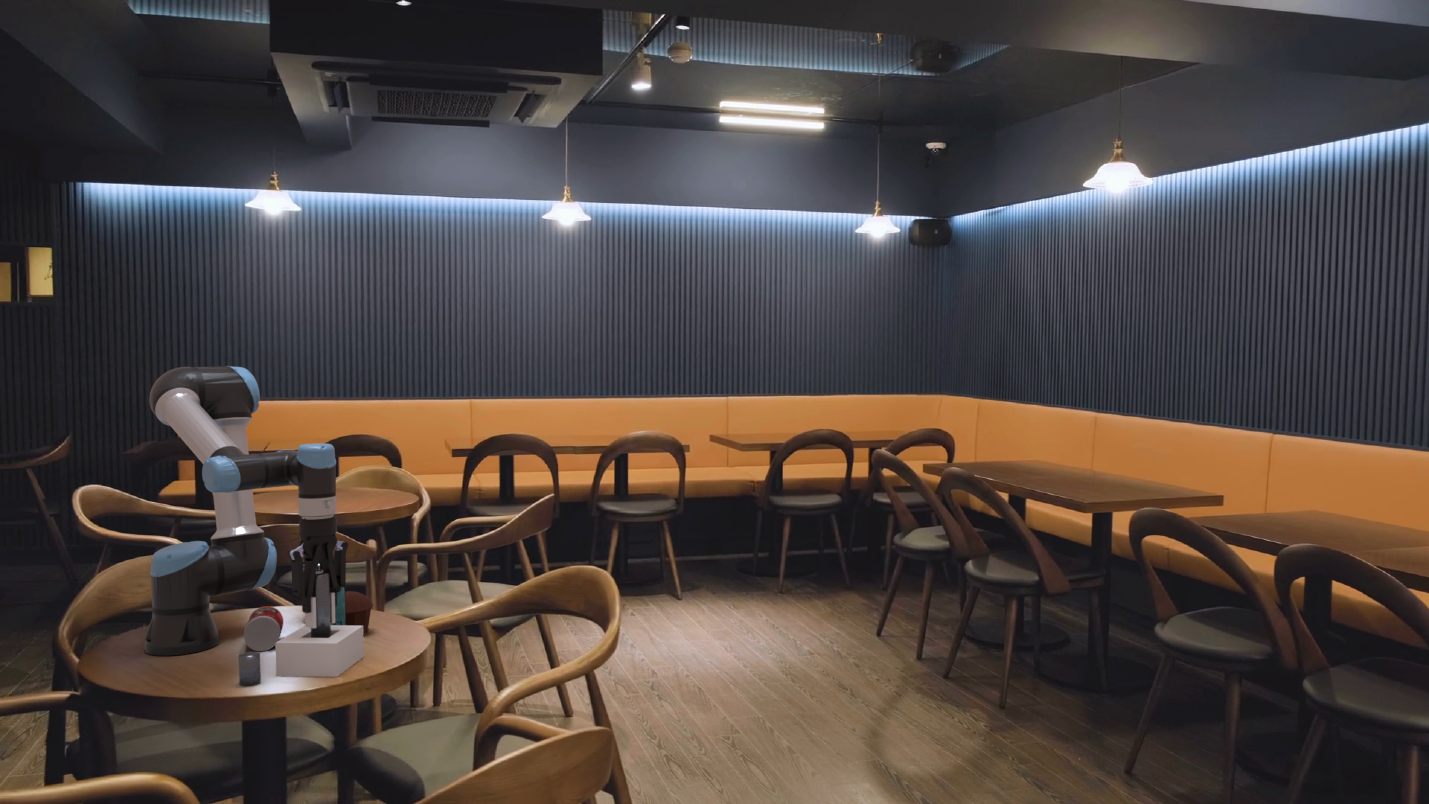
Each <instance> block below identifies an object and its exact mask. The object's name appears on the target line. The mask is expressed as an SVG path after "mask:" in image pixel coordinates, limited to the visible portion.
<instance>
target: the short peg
mask: <svg viewBox="0 0 1429 804" xmlns="http://www.w3.org/2000/svg"><path fill="white" fill-rule="evenodd" d="M261 679H262V677H261V652H260V651H248V652H242V653H240V654H238V685H240V687H242V688H243V687H244V688H248V687H254V686H258V685H260V684H261V682H262V680H261Z"/></svg>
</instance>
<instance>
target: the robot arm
mask: <svg viewBox="0 0 1429 804" xmlns="http://www.w3.org/2000/svg"><path fill="white" fill-rule="evenodd" d="M150 389H151V390H150V393H149V405H150V409H151V411H152V413H153V414H154V415H155V417H156V418H157V420H159V422H161V423H162V424H163V425H166V426H168V427H169V426H170V427H171V428H172V429H173V430H174V432H175V433H176V434H177V435H178V437H179V438H180V439H181V440H182V441H183V442H184V443H185V445H186V446H187V447H188V448H189V449H190V451H192V453H193V454H194V455H195V456H196V458H197V459H198V460H199V461H200V462H201V464H202V471H201V476H202V481H203V483H204V487H205V488H206V490H207V491H209V492H211V493H212V494H213V504H214V514H215V523H216V531H215V532H214V534H212V536H211V537H210V544H211V545H208V543H207V542H206V541H202V540H192V541H189V542H188V541H185V542H178V543H175V544H171V545H169V546H165V547H163V548H160V549H158V550H157V551H155V552H154V554H153V555H152V557H151V565H150V568H151V569H150V571H149V572H150V573H149V574H150V579H151V581H150V582H151V606H152V615H151V616H152V617H151V620H150V623H149V625H148V629H147V633H146V635H145V640H144V652H145V654H148V655H152V656H166V657H167V656H181V655H187V654H194V653H197V652H198V653H199V652H202V651H206V650H209V649H211V648H214V647H215V646H217V645H218V644H219V640H220V638H219V635H220V633H219V630H218V628H217V625H216V623H215V621H214V618H213V615H212V613H211V609H210V597H216V596H221V595H226V594H231V593H238V592H245V591H252V590H254V589H258V588H259V589H260V588H263V587H264V586H267V585H268V584H269V583H270V582H271V580H272V579H273V577H274V575H275V572H276V569H277V561H278V559H277V558H278V557H277V556H278V555H277V554H278V553H277V549H276V547H275V543H274V541H272V539H270V538H268V537H265V532H264V530H263V529H262V528H260V526H258V525H257V519H256V513H255V501H254V499H255V498H254V492H253V491H254V490H258V489H259V490H260V489H267V488H268V489H269V488H279V487H288V486H289V487H290V486H291V487H292V486H293V487H295V486H296V487H298V488H297V489H298V516H300V518H299V519H298V525H299V526H298V529H299V532H298V533H299V535H300V542H299V544H298V547H296V548H295V549H289V550H288V551H287V555H288V557H289V560H290V569H291V571H290V572H291V585H292V586H291V587H292V588H291V589H292V594H293V596H296V597H300V598H301V609H302V610H301V611H302V612H303V613H304V615H305V616H304V620H305V623H304V624H305V625H304V626H306V627H309V628H317V627H316V597H312V594H313V587H314V581H315V574H316V567H317V565H318V564H319V560H320V562H321V563H322V568H323V571H326V572H329V576H330V618H331V623H332V624H333V623H335V606H337V604H338V601H337V592H340V591H341V589H340V588H342V587H344V588H345V587H346V585H347V582H346V579H347V577H346V576H347V573H346V572H347V570H346V569H347V551H348V547H349V542H348V541H342V540H338V537H337V536H336V535H337V532H338V519H337V517H336V514H337V468H336V467H337V459H336V454H335V453H336V452H335V450H336V449H335V447H334V446H333V444H331V443H320V442H319V443H304V444H300V445H299V446H298V447H297V450H294V449H281V450H278V451H275V452H264V453H260V452H259V453H249V443H248V435H247V427H248V425H249V424H250V423H251V422H252V420H253V417H252V414H254V413H256V412H257V410H258V409H259V407H260V403H259V402H261V399H260V398H261V394H260V388H259V385H258V383H257V380H256V378H255V376H254V374H252V373H251V371H250V370H248V369H247V368H245V367H242V366H229V365H223V366H219V365H218V366H180V367H176V368H172V369H170V370H167V371H166V372H165V373H163V374H161V376H159V377H158V378H157V379H156V380H155V382H154V383H153V385H152V387H151V388H150ZM303 557H304V558H303ZM311 560H312V561H311ZM303 561H304V564H305V567H304V571H303ZM333 561H334V563H333Z"/></svg>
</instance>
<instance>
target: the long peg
mask: <svg viewBox="0 0 1429 804" xmlns="http://www.w3.org/2000/svg"><path fill="white" fill-rule="evenodd" d="M312 597H316V627H317V628H311V638H329V637H331V618H330V576H329V572H326V571H318V572H316V574H315V581H314V587H313V594H312Z"/></svg>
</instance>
